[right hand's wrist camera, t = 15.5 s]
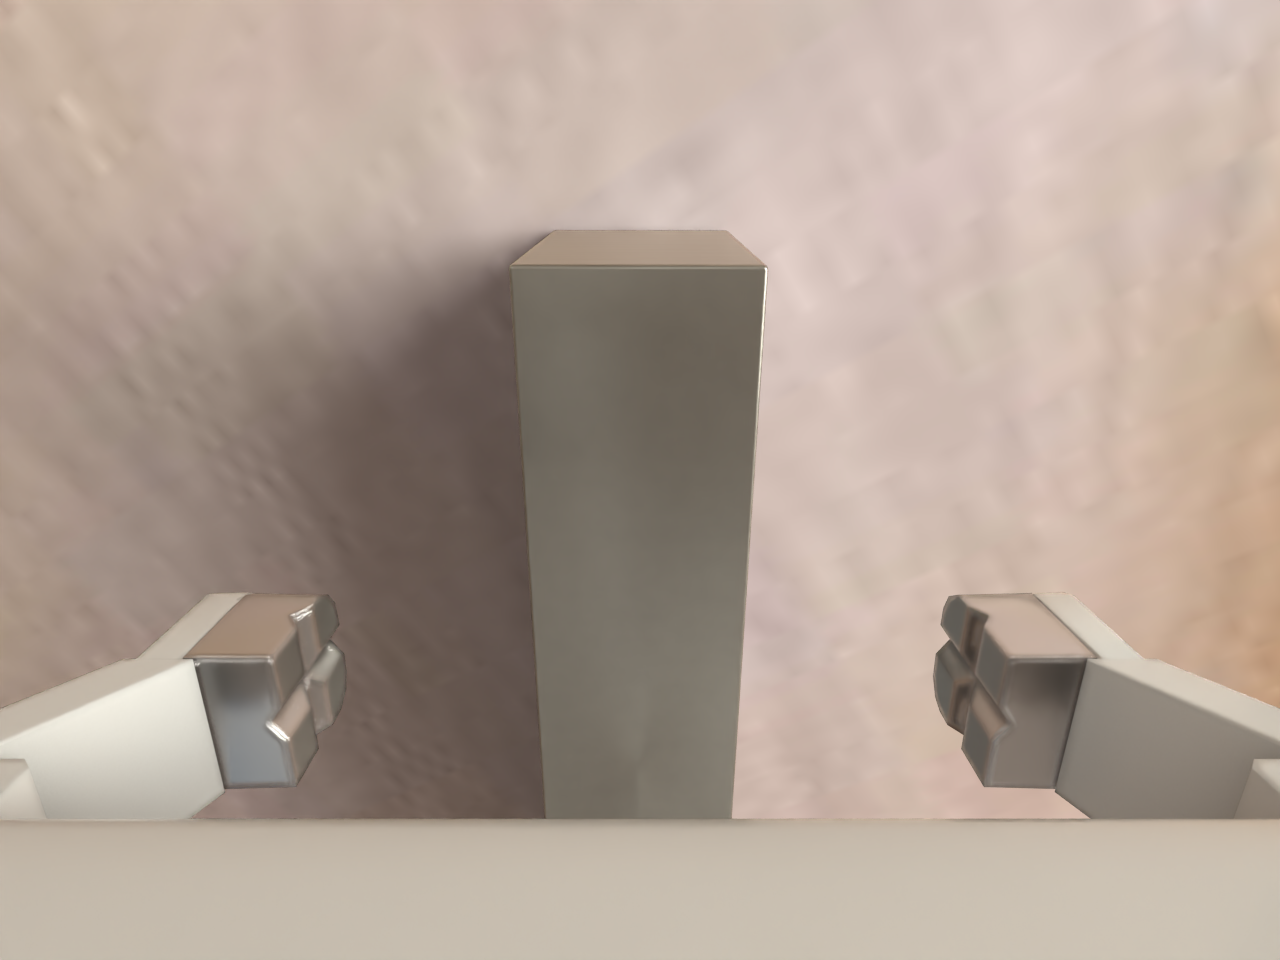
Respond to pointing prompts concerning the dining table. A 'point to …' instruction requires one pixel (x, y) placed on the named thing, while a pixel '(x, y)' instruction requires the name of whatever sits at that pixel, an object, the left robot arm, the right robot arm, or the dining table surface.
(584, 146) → the dining table surface
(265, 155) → the dining table surface
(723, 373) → the bar
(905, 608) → the dining table surface
